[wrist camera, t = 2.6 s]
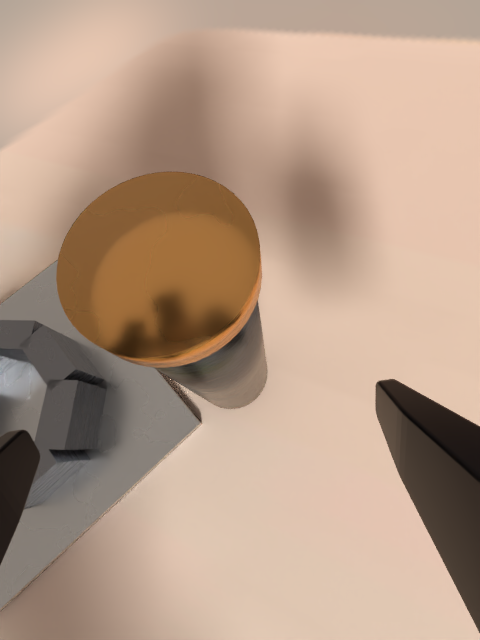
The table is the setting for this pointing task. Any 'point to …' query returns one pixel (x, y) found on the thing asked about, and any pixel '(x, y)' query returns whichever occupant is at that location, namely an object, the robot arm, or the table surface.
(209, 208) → the copper capped metal cylinder
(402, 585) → the table surface
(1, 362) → the rosette collar
